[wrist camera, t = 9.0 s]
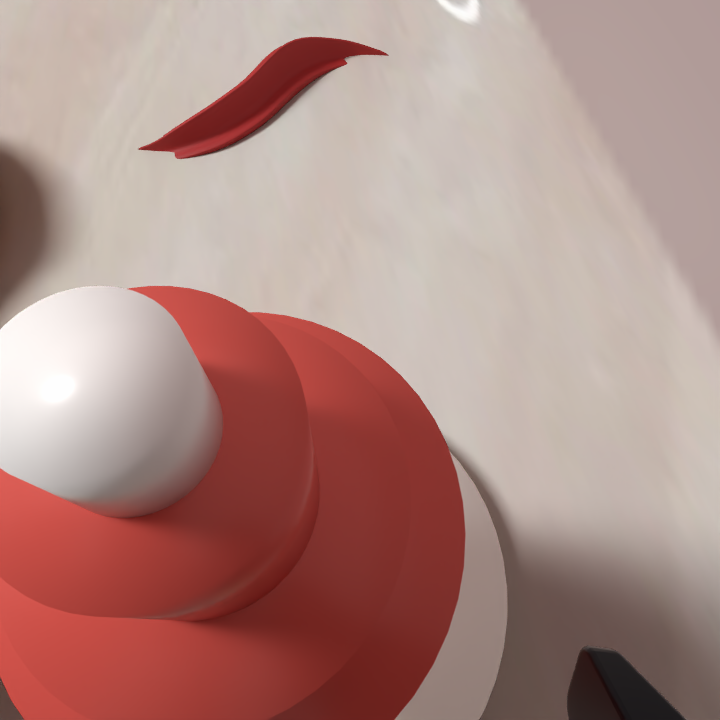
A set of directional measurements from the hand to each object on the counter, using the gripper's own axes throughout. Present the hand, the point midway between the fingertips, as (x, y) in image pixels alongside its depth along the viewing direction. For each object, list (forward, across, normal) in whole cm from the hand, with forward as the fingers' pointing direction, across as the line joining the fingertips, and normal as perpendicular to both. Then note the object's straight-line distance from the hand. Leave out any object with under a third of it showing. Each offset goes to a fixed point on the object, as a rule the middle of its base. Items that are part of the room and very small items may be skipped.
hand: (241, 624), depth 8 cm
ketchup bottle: (+6, 0, +5) cm, 8 cm away
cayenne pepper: (+20, +4, -8) cm, 22 cm away
